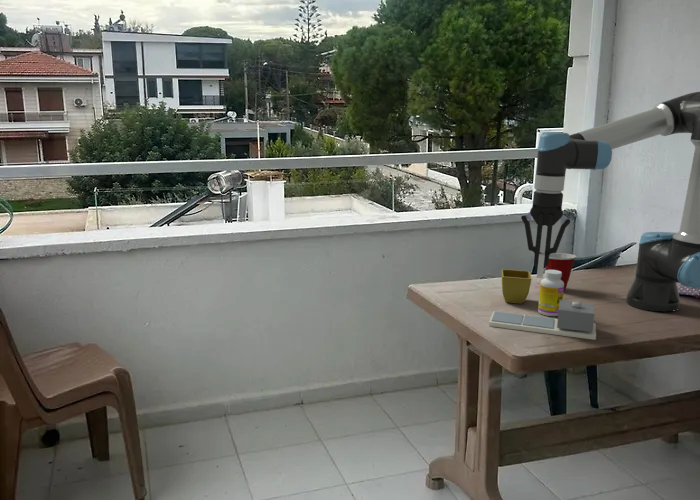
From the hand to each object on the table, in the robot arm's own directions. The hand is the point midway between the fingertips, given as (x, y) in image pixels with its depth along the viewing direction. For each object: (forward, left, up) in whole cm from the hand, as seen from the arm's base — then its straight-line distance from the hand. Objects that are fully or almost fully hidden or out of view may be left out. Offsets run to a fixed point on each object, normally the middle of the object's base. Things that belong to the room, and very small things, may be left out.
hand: (539, 276), depth 177 cm
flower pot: (+8, -21, -15) cm, 27 cm away
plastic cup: (-4, -40, -15) cm, 43 cm away
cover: (-10, 0, -13) cm, 16 cm away
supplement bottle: (-3, -13, -15) cm, 20 cm away
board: (-2, 0, -14) cm, 15 cm away
